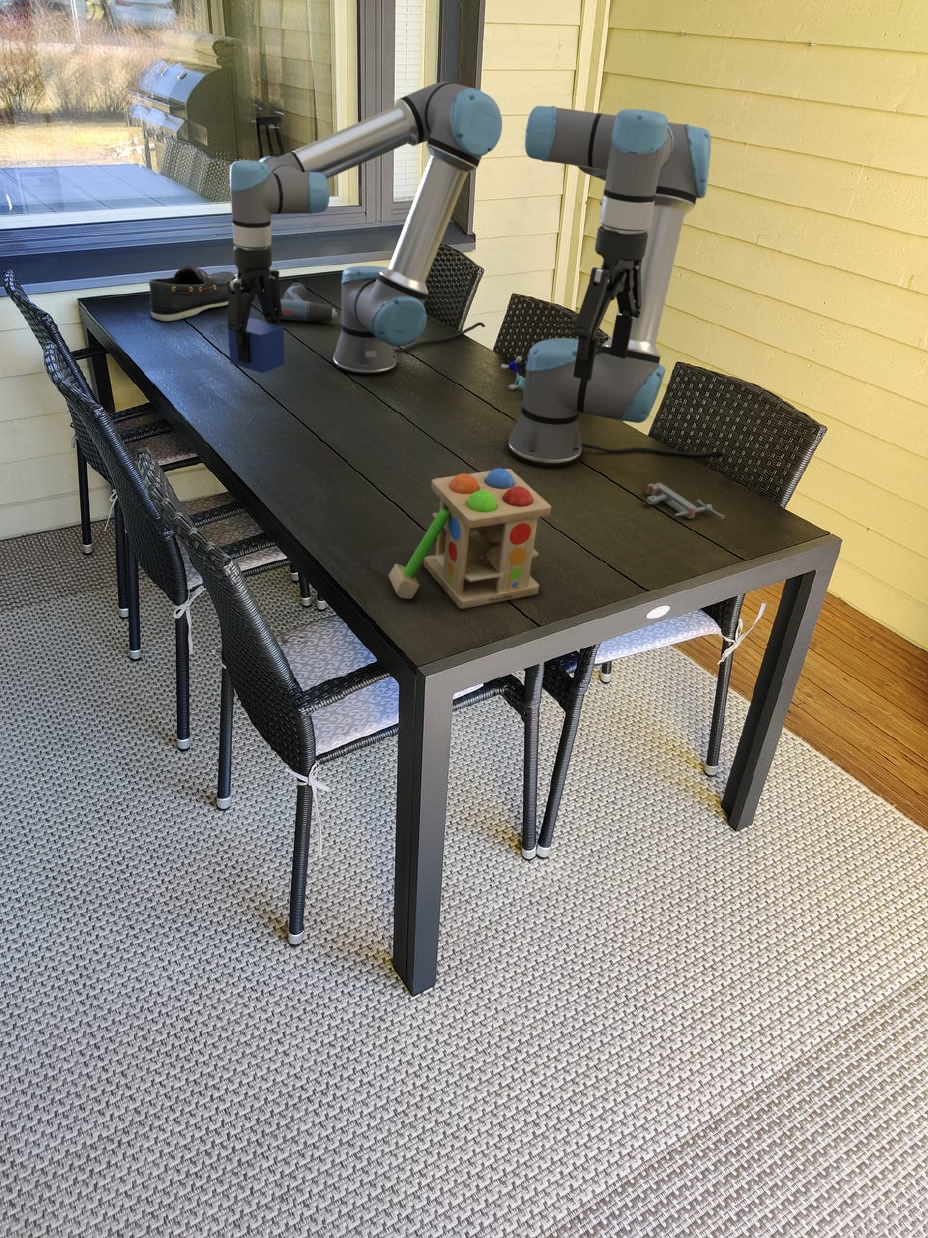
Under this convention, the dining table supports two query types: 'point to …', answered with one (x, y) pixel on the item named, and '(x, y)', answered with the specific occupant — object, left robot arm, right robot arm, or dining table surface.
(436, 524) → the pounding bench toy
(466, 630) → the dining table surface
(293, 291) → the power drill
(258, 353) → the brick
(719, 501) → the dining table surface
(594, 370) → the right robot arm
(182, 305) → the boat shoe
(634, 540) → the dining table surface
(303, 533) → the dining table surface
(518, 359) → the molecular model
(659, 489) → the clamp
